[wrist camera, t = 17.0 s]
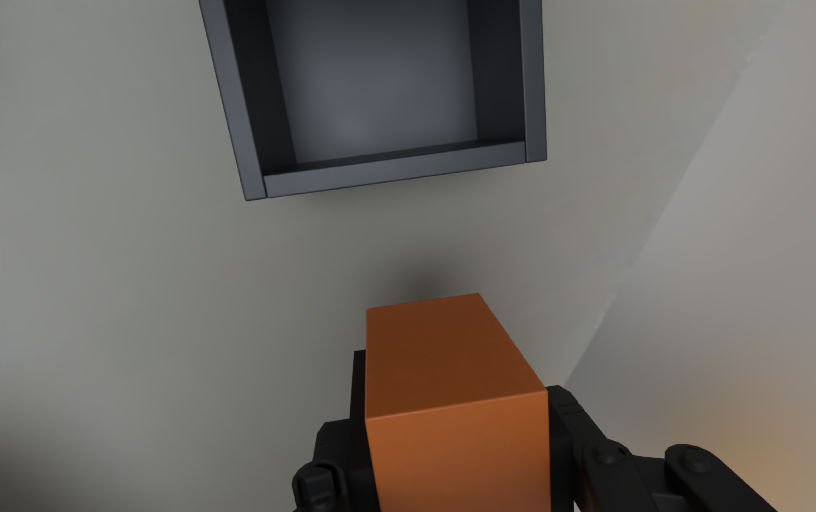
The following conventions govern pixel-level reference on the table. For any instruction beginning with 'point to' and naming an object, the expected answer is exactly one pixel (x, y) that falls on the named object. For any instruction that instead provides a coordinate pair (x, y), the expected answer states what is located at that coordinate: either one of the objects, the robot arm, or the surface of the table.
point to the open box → (376, 89)
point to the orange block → (453, 411)
